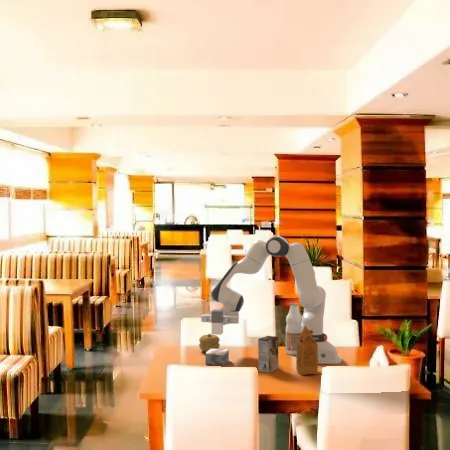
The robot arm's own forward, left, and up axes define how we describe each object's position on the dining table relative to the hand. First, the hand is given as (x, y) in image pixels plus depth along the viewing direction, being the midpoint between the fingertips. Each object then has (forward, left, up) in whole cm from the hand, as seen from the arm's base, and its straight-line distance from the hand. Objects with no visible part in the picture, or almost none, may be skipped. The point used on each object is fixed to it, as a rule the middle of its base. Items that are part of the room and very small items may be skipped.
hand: (216, 321), depth 291 cm
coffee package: (-47, +6, -22) cm, 52 cm away
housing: (0, -1, -6) cm, 7 cm away
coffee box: (-28, +6, -22) cm, 36 cm away
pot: (+10, -23, -22) cm, 33 cm away
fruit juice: (-37, -30, -22) cm, 52 cm away
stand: (0, -1, -22) cm, 22 cm away
